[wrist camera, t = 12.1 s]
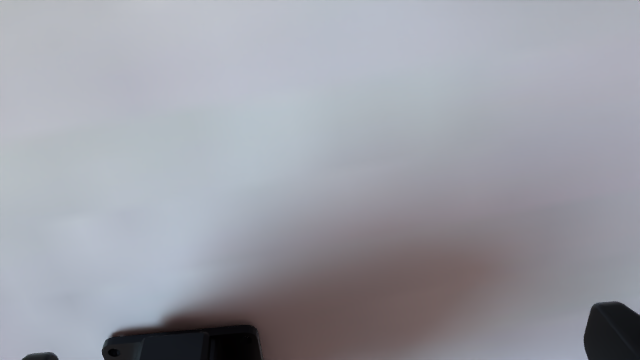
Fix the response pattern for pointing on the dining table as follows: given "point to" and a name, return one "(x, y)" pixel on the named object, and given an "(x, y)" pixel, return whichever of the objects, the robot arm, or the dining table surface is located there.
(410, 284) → the dining table surface
